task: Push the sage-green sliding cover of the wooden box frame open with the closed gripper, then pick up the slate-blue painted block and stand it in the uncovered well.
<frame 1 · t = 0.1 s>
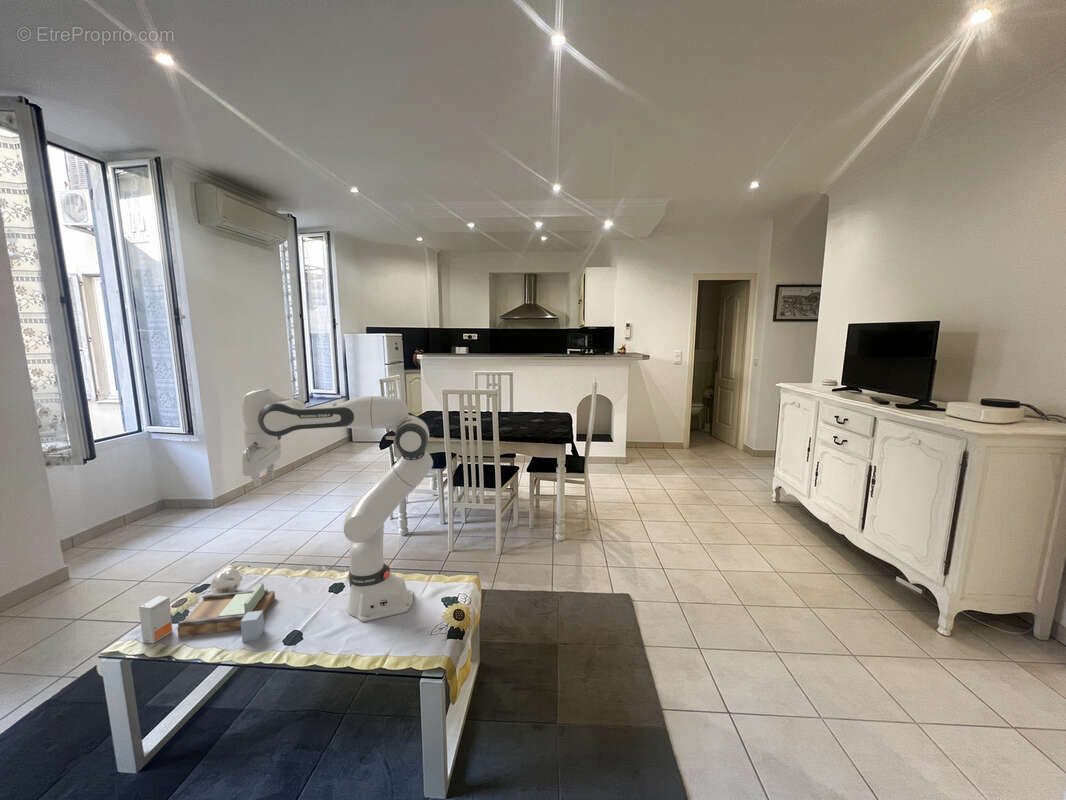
hand: (264, 480, 136), 48 cm above the table, fingers open, 8 cm apart
lid: (241, 599, 142), point 6 cm above the table, slide at 0.0 cm
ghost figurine: (227, 594, 154), on the table
block: (253, 635, 133), on the table
wooden box frame: (230, 616, 142), on the table
skincare box: (158, 637, 132), on the table
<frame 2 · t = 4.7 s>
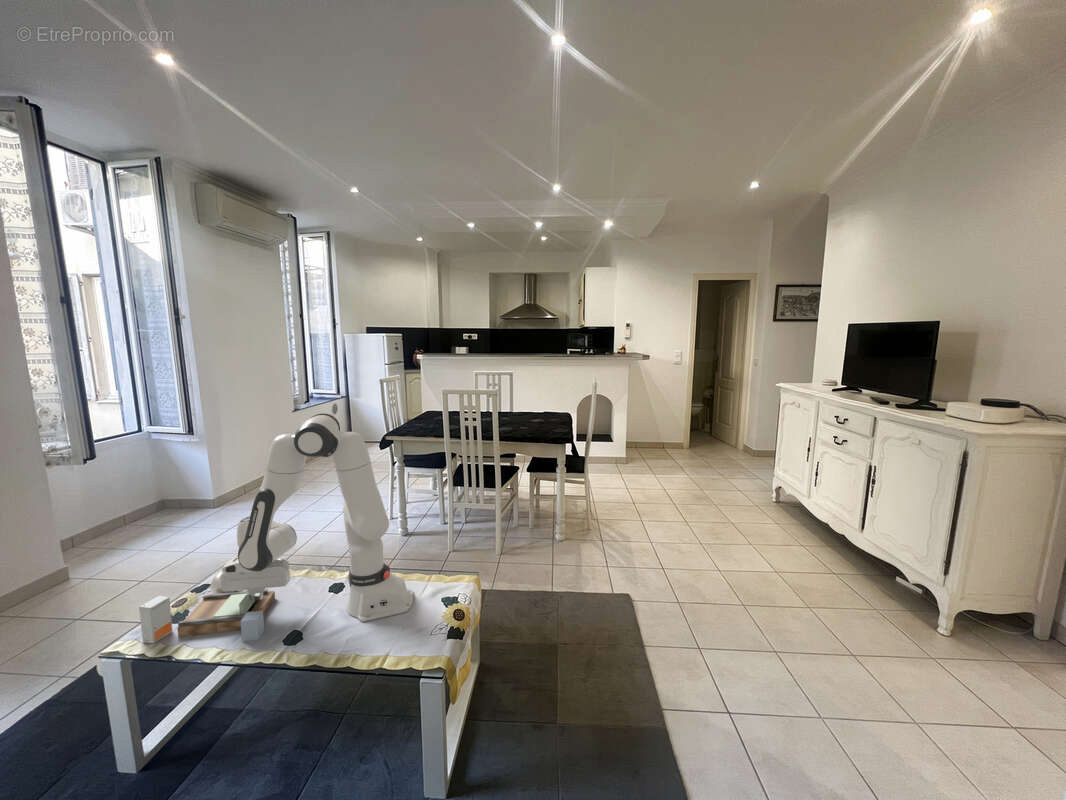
hand: (257, 599, 143), 5 cm above the table, fingers closed
lid: (237, 600, 142), point 6 cm above the table, slide at 1.5 cm, touching gripper
everything else where it was.
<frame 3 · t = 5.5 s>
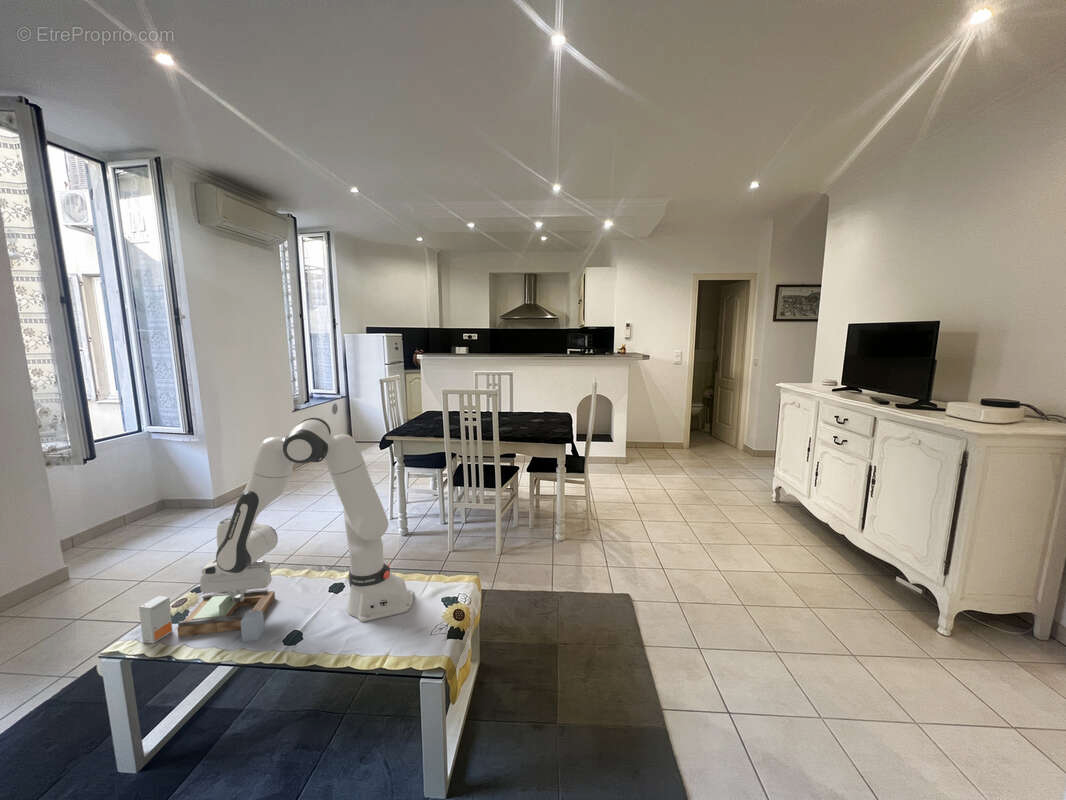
hand: (238, 600, 142), 5 cm above the table, fingers closed
lid: (217, 602, 140), point 6 cm above the table, slide at 7.3 cm, touching gripper
everything else where it was.
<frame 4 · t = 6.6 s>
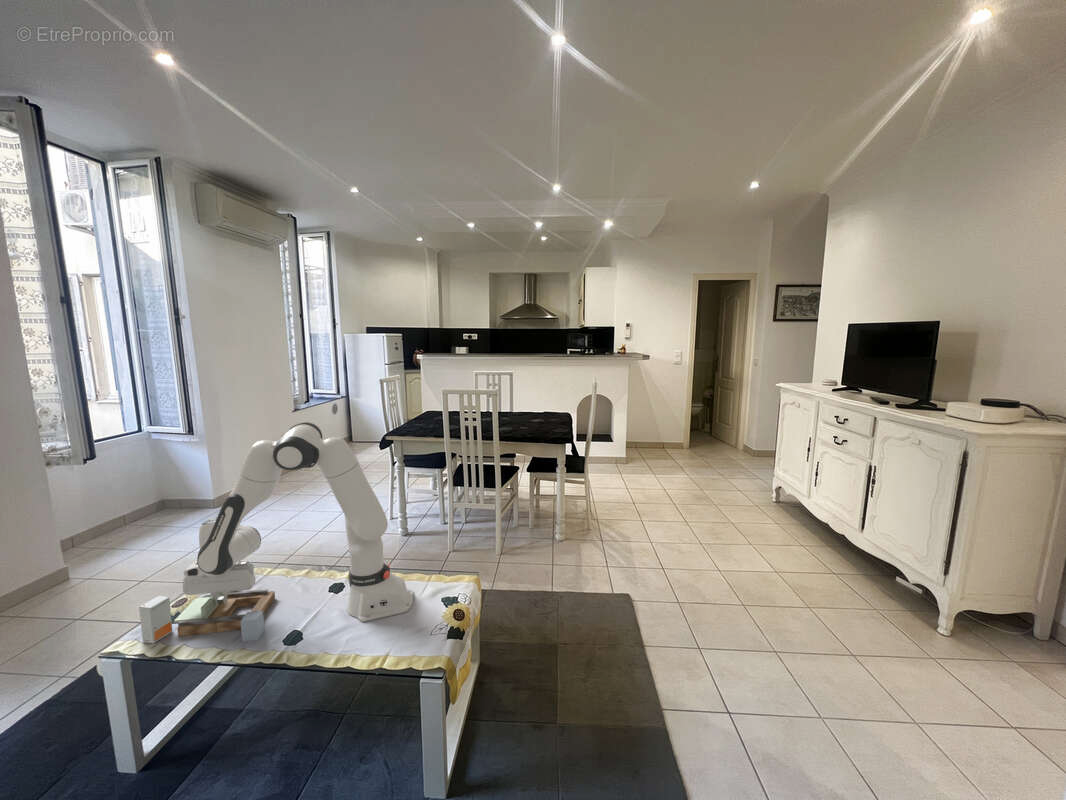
hand: (221, 602, 141), 5 cm above the table, fingers closed
lid: (200, 603, 139), point 6 cm above the table, slide at 12.4 cm, touching gripper
everything else where it was.
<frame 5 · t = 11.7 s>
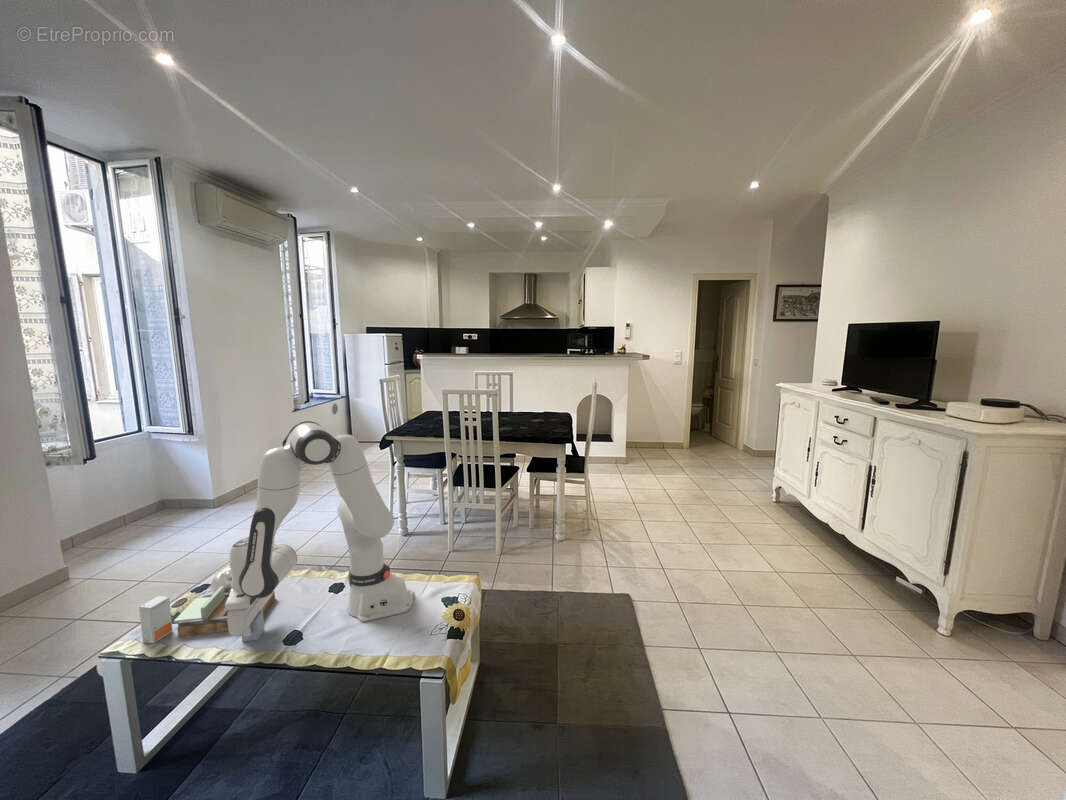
hand: (252, 628, 132), 3 cm above the table, fingers closed on block, 4 cm apart
lid: (200, 603, 139), point 6 cm above the table, slide at 12.5 cm
block: (253, 635, 133), on the table, touching gripper
everything else where it was.
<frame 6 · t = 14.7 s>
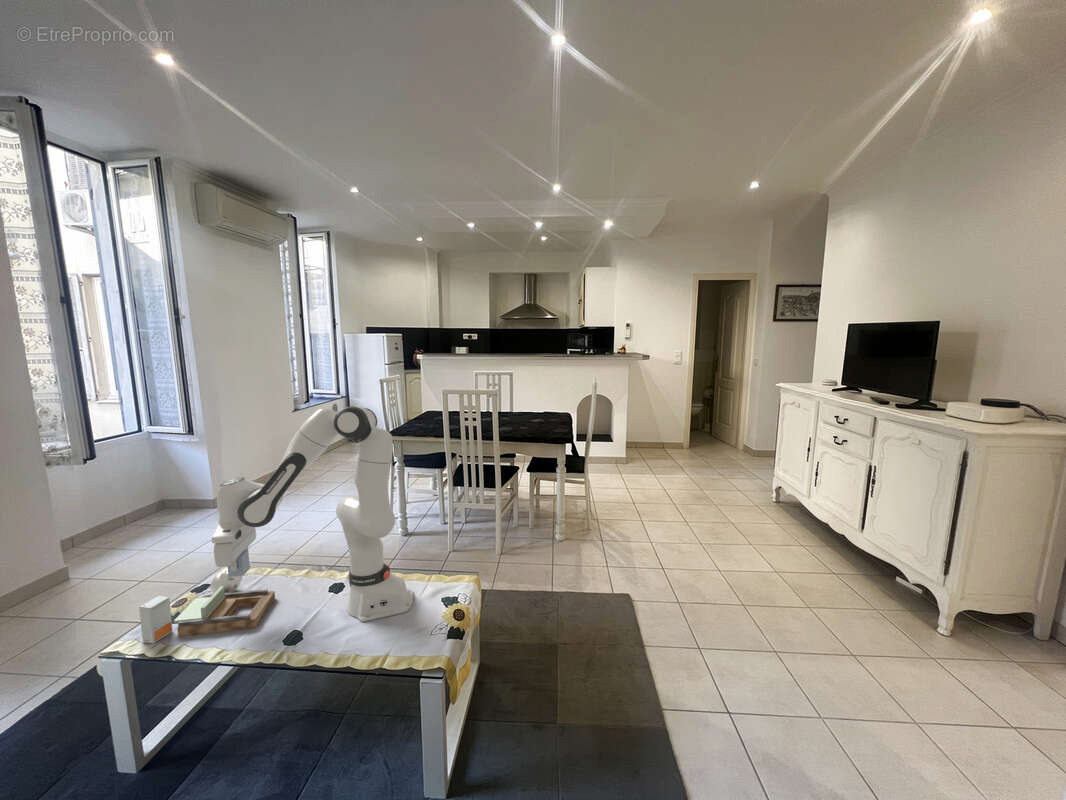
hand: (238, 565, 140), 18 cm above the table, fingers closed on block, 4 cm apart
block: (239, 572, 141), point 15 cm above the table, touching gripper
everything else where it was.
when the fingers open (5 cm above the table, at t = 17.4 s): block drops 2 cm, resting in wooden box frame.
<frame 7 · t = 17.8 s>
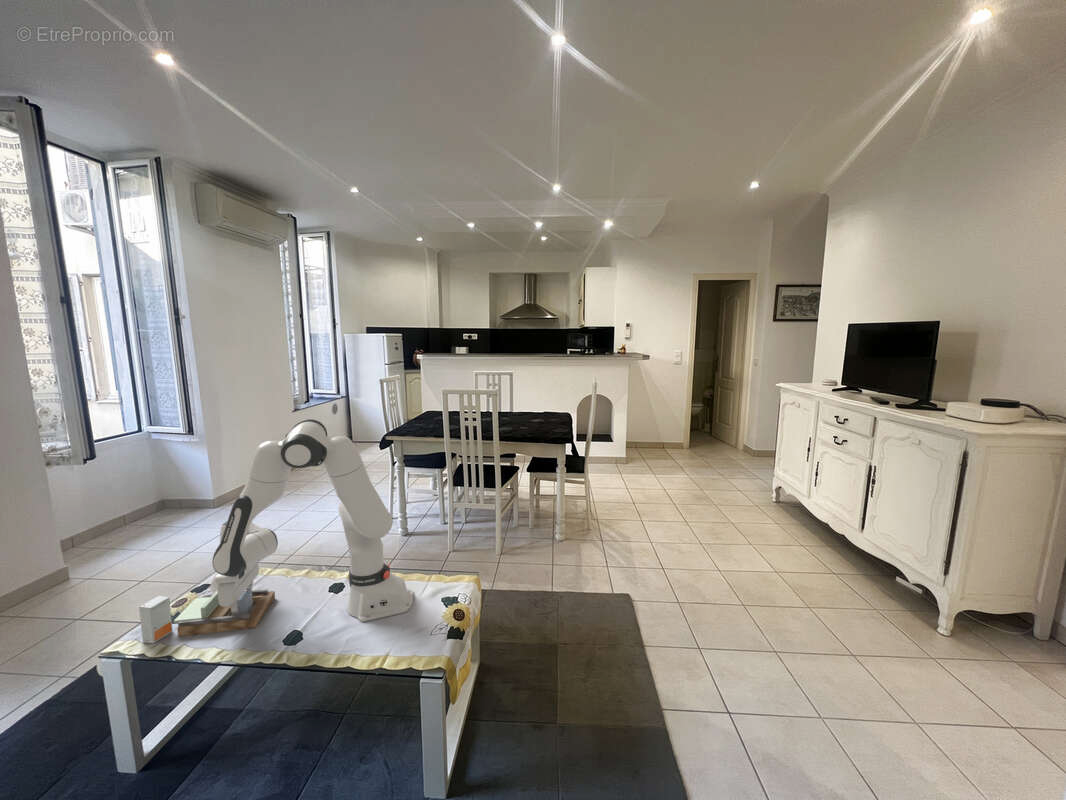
hand: (242, 602, 142), 5 cm above the table, fingers open, 8 cm apart
block: (243, 614, 143), resting in wooden box frame
everything else where it was.
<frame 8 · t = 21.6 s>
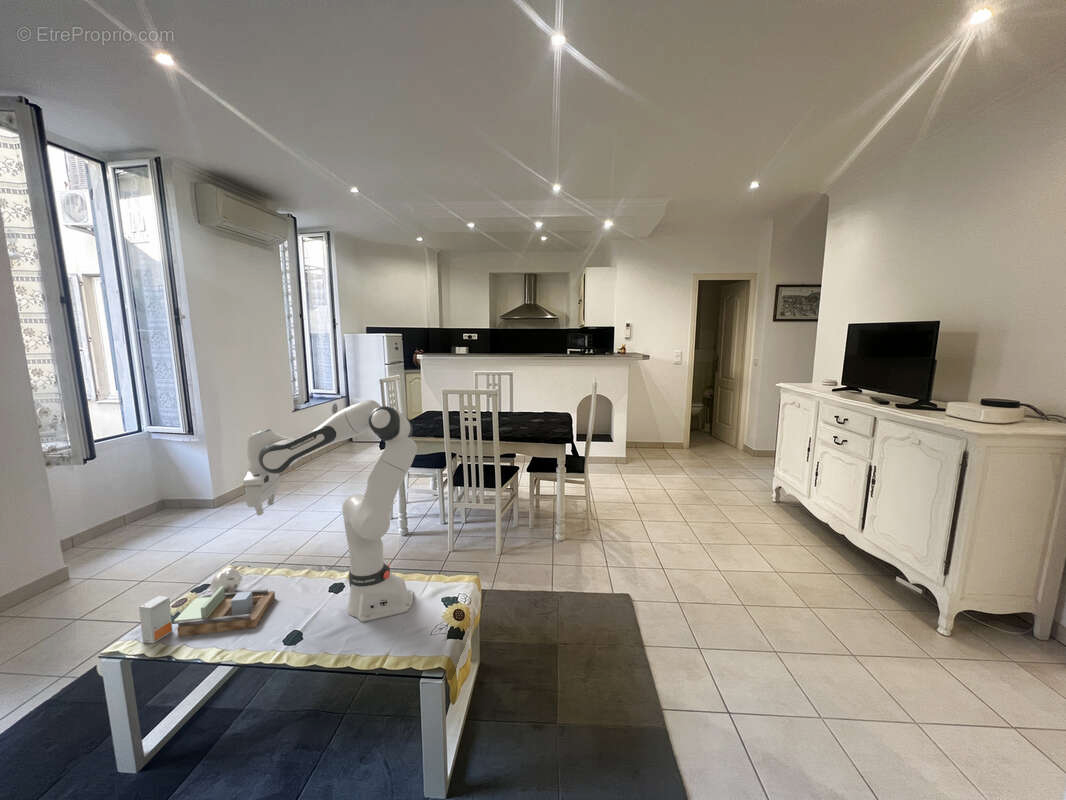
hand: (265, 509, 154), 31 cm above the table, fingers open, 8 cm apart
nothing on the table moved.
at the end: lid slide at 12.5 cm; block inside the target area on the wooden box frame (0.0 cm from its centre), point 0.0 cm above the wooden box frame's base; block tilted 0° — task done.
